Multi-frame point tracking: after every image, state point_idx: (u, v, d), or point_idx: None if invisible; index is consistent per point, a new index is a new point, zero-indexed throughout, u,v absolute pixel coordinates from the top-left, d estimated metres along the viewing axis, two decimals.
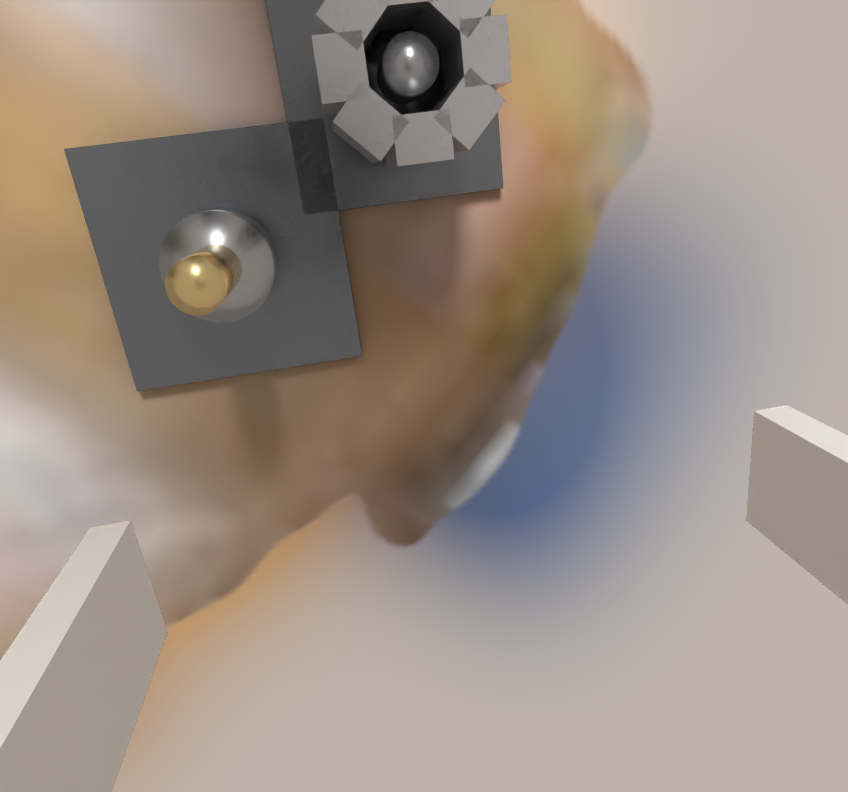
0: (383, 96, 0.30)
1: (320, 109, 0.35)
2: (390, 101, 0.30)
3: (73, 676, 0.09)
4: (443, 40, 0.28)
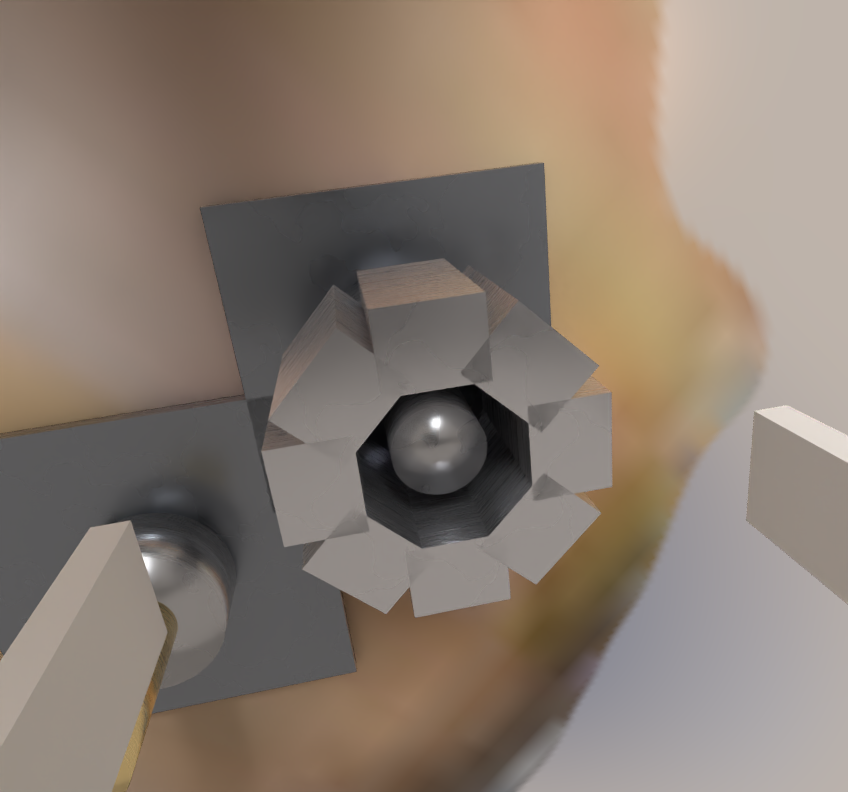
0: None
1: None
2: None
3: (72, 676, 0.09)
4: None
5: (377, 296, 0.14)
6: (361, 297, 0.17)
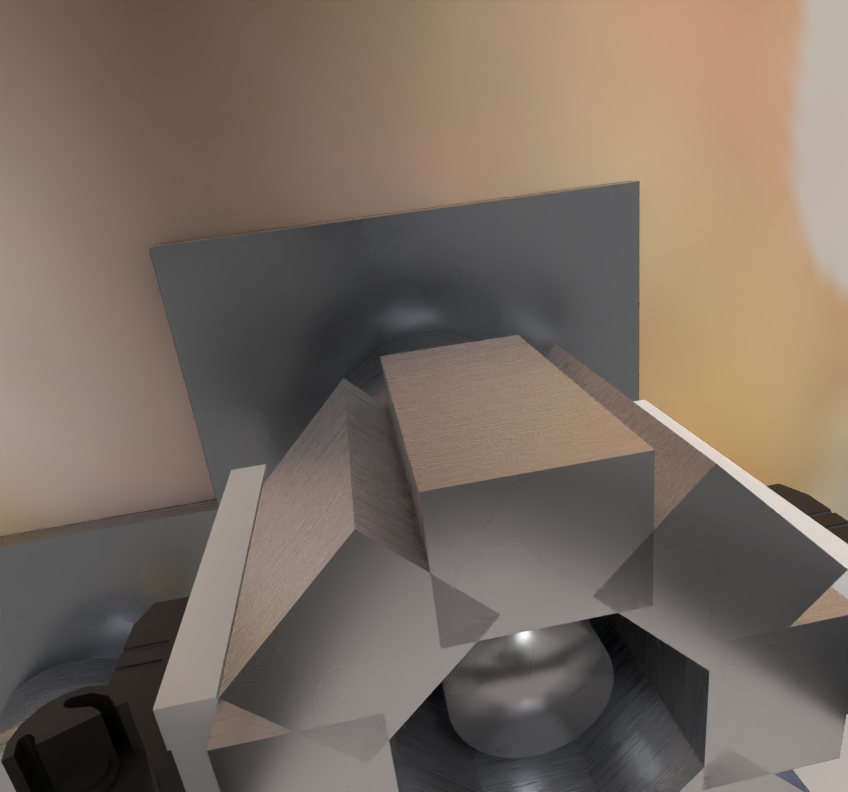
0: None
1: None
2: None
3: None
4: None
5: (430, 441, 0.07)
6: (390, 407, 0.10)
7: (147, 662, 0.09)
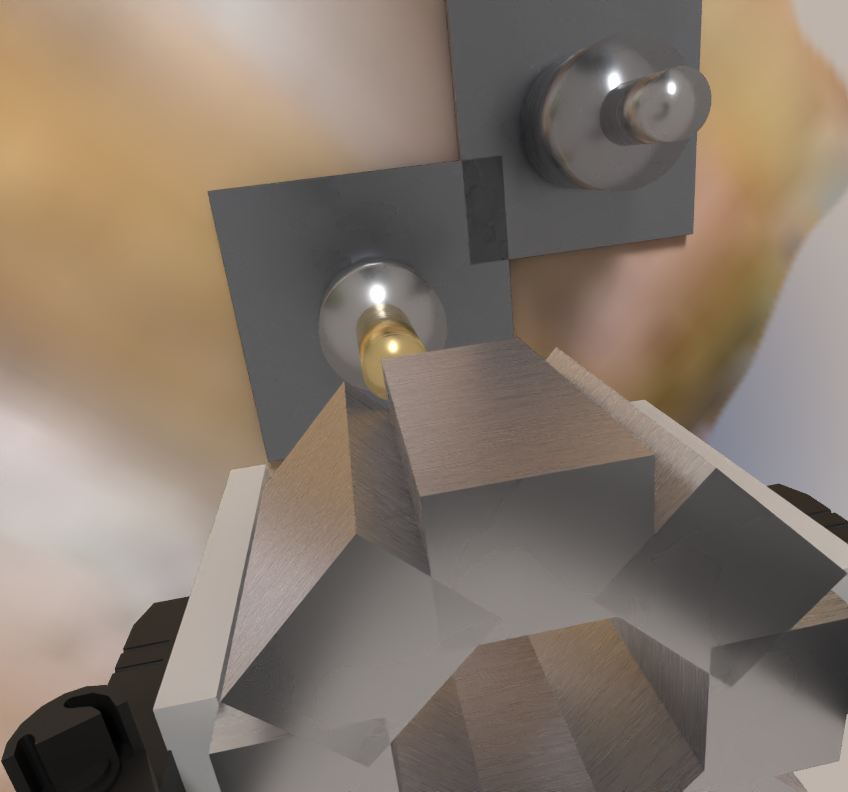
0: (604, 137, 0.26)
1: (499, 145, 0.30)
2: (612, 143, 0.26)
3: None
4: None
5: (431, 445, 0.07)
6: (391, 410, 0.10)
7: (147, 662, 0.09)
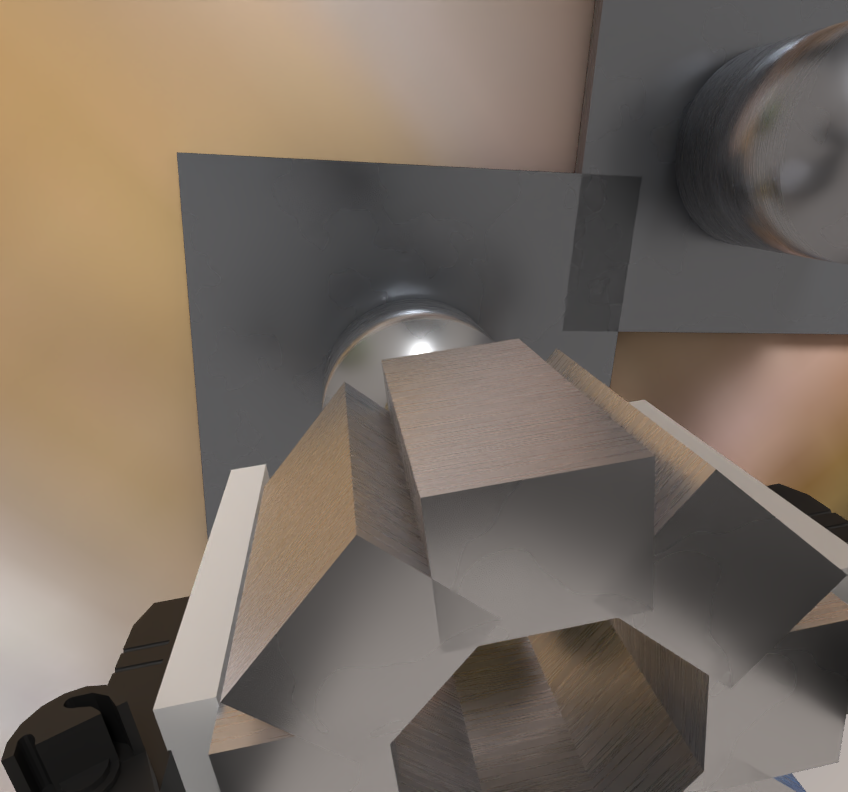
0: None
1: (641, 161, 0.19)
2: None
3: None
4: None
5: (431, 446, 0.07)
6: (391, 411, 0.10)
7: (147, 662, 0.09)
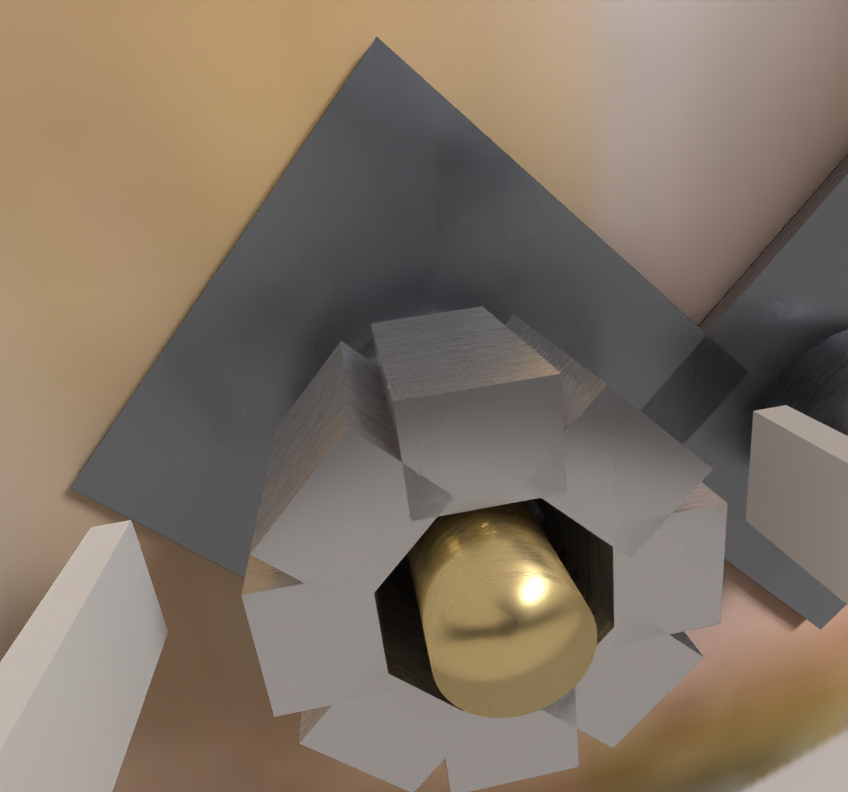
0: None
1: (757, 359, 0.19)
2: None
3: (74, 675, 0.09)
4: None
5: (404, 373, 0.10)
6: (378, 361, 0.13)
7: None
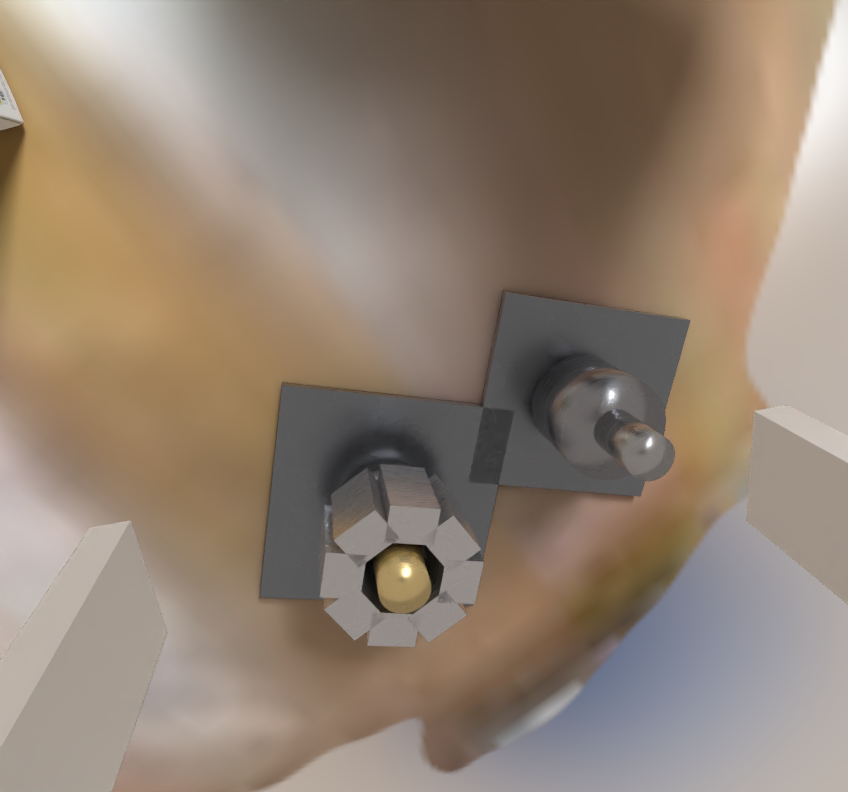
0: (595, 441, 0.34)
1: (514, 403, 0.38)
2: (599, 446, 0.34)
3: (73, 676, 0.09)
4: None
5: (337, 524, 0.31)
6: None
7: None
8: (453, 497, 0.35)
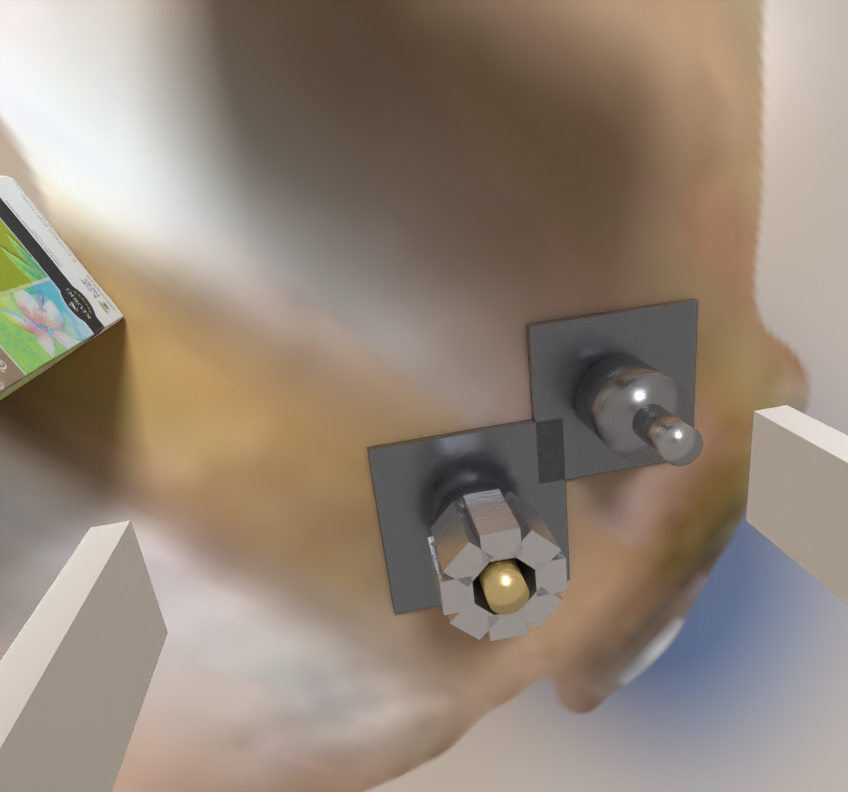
0: (635, 435, 0.40)
1: (561, 412, 0.44)
2: (640, 438, 0.40)
3: (73, 676, 0.09)
4: None
5: (442, 557, 0.39)
6: None
7: None
8: (529, 505, 0.42)
